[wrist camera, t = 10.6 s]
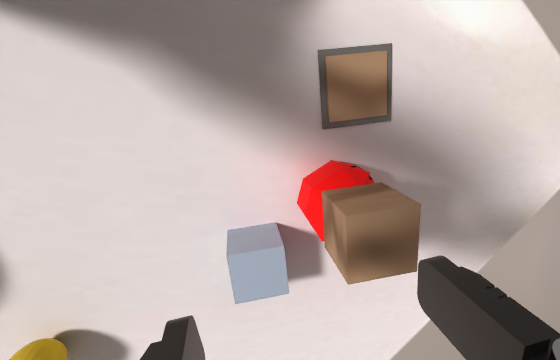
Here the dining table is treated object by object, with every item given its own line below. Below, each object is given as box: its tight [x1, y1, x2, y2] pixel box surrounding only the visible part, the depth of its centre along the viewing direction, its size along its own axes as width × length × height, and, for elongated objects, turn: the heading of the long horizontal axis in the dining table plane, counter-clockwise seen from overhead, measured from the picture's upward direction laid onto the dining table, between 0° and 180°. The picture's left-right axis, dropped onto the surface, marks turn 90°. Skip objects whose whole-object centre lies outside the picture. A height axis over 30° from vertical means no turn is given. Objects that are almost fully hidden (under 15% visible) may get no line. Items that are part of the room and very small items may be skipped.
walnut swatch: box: [318, 43, 392, 129], centre depth 31 cm, size 8×8×1 cm
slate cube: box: [227, 222, 289, 304], centre depth 33 cm, size 6×6×6 cm
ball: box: [297, 160, 374, 241], centre depth 31 cm, size 8×8×8 cm
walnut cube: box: [322, 182, 421, 285], centre depth 25 cm, size 6×6×6 cm
